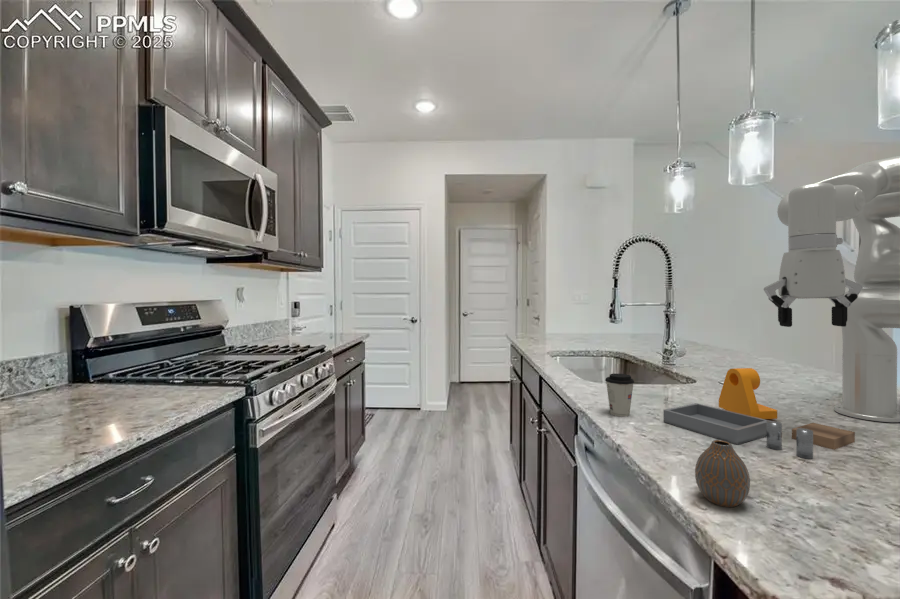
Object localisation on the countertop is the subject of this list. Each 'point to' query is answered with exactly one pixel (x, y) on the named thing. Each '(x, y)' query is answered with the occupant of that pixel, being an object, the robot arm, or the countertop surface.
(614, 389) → the coffee cup
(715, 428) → the tray
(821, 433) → the tan slab
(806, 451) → the peg
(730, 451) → the vase
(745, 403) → the bracket
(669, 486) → the countertop surface
